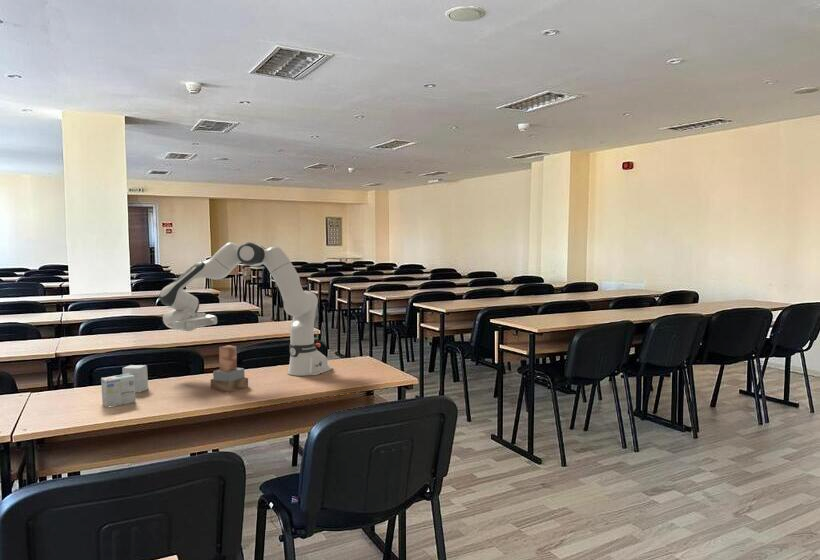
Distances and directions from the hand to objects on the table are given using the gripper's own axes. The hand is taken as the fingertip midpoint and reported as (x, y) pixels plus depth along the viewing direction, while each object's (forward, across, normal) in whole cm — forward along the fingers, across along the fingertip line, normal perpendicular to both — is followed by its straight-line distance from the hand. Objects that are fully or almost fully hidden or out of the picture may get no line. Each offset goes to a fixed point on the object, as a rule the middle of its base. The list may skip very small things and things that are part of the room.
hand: (204, 323), depth 247 cm
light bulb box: (+1, -39, +26) cm, 47 cm away
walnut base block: (+16, 0, +27) cm, 32 cm away
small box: (-12, -26, +26) cm, 39 cm away
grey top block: (+17, 0, +23) cm, 28 cm away
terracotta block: (+16, 0, +19) cm, 25 cm away
